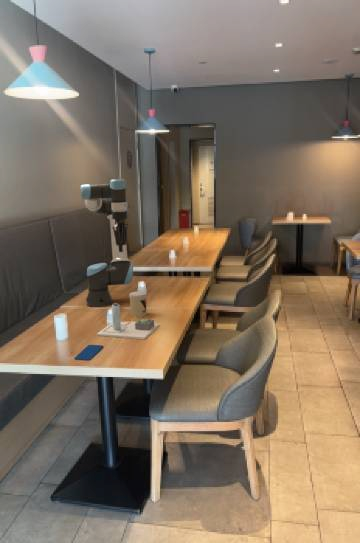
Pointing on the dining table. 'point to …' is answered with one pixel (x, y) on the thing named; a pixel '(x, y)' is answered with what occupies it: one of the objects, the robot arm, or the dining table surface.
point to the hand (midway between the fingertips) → (122, 257)
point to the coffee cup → (138, 303)
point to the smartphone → (89, 352)
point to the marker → (116, 316)
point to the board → (130, 330)
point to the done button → (144, 320)
